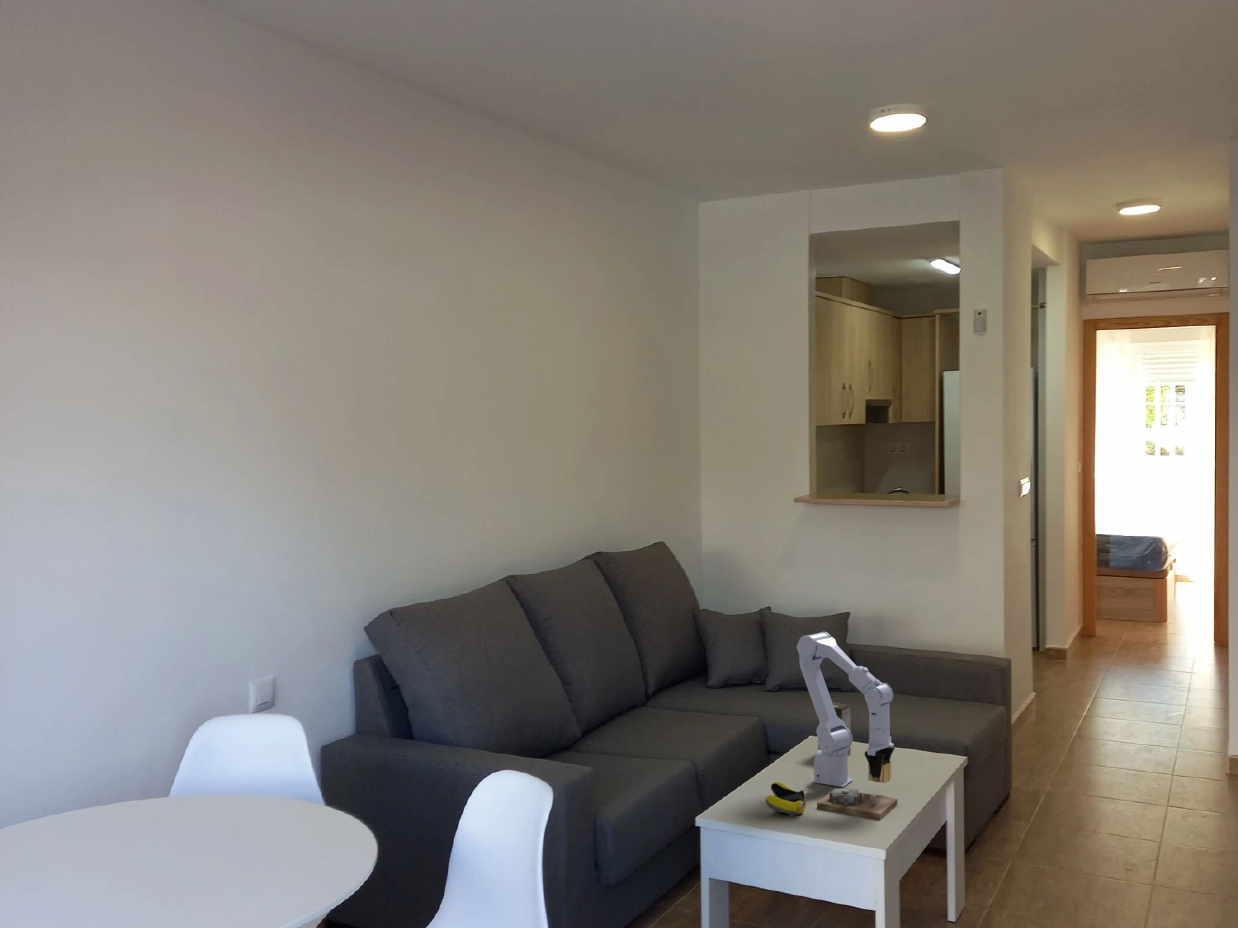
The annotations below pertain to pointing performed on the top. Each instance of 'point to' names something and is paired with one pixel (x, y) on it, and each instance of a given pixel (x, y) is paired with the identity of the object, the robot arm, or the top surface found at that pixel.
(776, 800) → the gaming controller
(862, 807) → the gear board
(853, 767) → the top surface
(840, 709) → the coffee box
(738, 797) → the top surface
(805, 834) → the top surface
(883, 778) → the wooden gear
